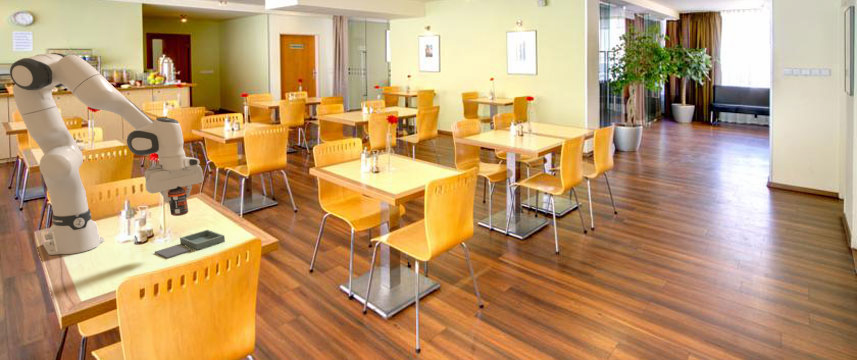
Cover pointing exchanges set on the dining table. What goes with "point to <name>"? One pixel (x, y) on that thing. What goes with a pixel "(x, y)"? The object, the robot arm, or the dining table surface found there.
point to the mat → (172, 251)
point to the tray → (202, 239)
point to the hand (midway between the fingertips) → (177, 199)
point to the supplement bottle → (178, 201)
